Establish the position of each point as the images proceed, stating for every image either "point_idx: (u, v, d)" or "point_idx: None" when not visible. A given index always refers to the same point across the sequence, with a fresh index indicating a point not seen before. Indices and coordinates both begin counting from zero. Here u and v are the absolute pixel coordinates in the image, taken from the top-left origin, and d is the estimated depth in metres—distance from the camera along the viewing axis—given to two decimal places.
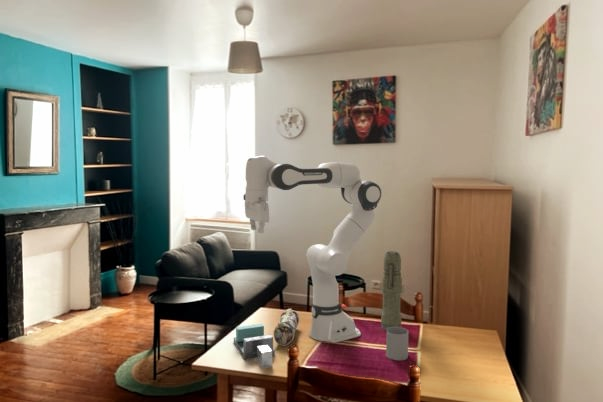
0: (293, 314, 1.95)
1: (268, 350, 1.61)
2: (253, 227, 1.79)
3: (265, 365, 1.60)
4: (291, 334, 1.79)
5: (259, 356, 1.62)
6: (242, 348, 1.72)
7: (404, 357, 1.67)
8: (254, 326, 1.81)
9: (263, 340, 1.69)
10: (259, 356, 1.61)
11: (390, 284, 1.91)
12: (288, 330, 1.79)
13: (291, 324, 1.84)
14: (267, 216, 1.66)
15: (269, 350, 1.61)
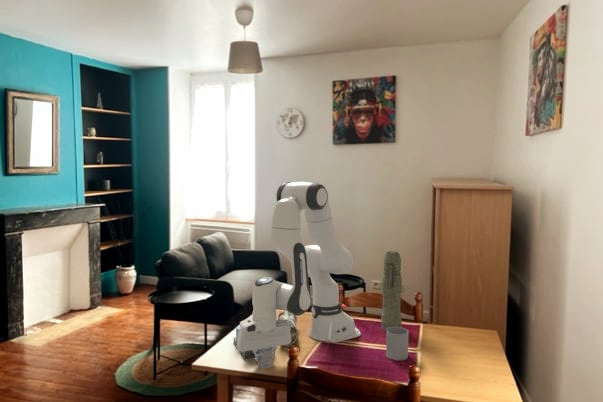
0: (291, 314, 1.95)
1: (268, 350, 1.61)
2: None
3: (265, 365, 1.60)
4: (295, 334, 1.79)
5: None
6: None
7: (404, 357, 1.67)
8: None
9: None
10: None
11: (390, 284, 1.91)
12: (292, 330, 1.79)
13: (293, 324, 1.84)
14: None
15: (269, 350, 1.61)
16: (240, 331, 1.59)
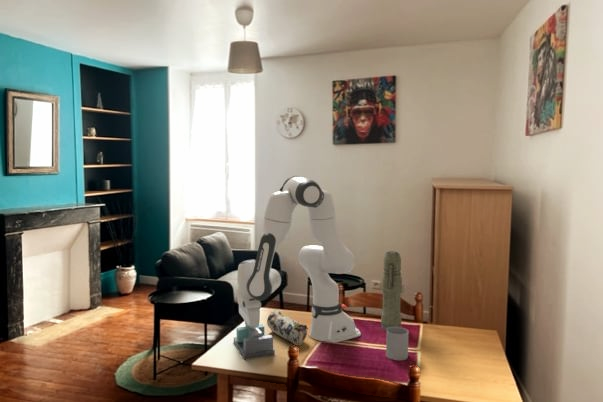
0: (281, 314, 1.95)
1: (258, 332, 1.73)
2: None
3: None
4: (305, 331, 1.82)
5: None
6: (242, 348, 1.72)
7: (404, 357, 1.67)
8: None
9: (263, 340, 1.69)
10: None
11: (390, 284, 1.91)
12: (303, 328, 1.81)
13: None
14: None
15: (259, 332, 1.72)
16: (252, 310, 1.74)
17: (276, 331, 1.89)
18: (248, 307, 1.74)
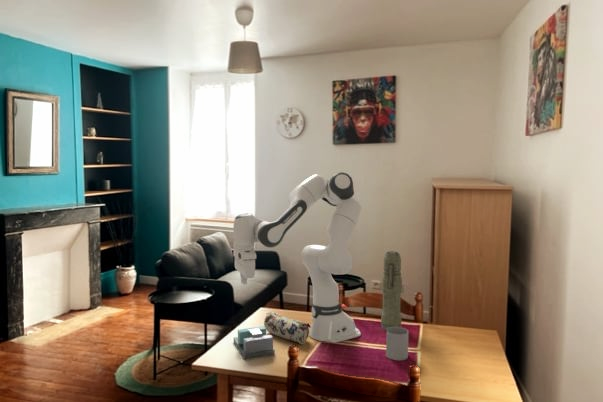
0: None
1: (259, 332, 1.72)
2: None
3: None
4: (308, 329, 1.84)
5: None
6: (242, 348, 1.72)
7: (404, 357, 1.67)
8: None
9: (263, 340, 1.69)
10: None
11: (390, 284, 1.91)
12: (306, 326, 1.83)
13: None
14: None
15: (259, 332, 1.72)
16: (248, 261, 1.78)
17: (276, 332, 1.88)
18: (244, 258, 1.78)
